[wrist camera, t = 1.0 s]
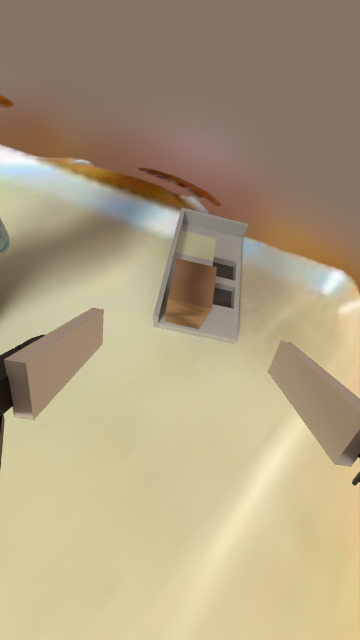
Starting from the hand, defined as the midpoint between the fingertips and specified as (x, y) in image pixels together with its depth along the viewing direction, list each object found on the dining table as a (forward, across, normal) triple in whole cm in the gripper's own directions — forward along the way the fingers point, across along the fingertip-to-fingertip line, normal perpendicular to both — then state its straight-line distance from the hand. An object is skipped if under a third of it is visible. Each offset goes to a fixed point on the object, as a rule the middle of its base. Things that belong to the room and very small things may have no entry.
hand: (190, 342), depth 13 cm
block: (+20, 0, -3) cm, 20 cm away
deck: (+27, +3, +2) cm, 27 cm away
